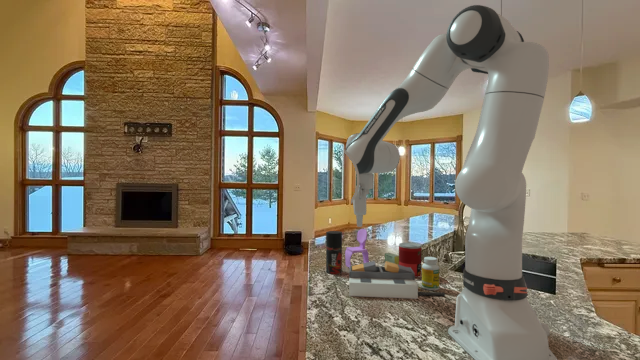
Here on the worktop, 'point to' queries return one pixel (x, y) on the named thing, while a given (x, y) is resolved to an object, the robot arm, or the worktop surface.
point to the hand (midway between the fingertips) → (359, 226)
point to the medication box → (392, 258)
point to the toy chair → (358, 248)
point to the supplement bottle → (430, 274)
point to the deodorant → (333, 252)
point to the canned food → (410, 257)
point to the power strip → (385, 284)
